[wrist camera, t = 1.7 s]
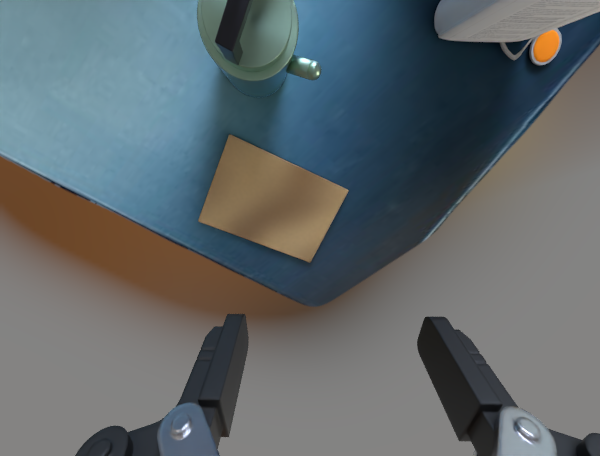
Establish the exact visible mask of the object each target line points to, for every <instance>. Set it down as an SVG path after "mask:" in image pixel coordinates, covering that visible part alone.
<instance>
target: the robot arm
mask: <svg viewBox="0 0 600 456" xmlns="http://www.w3.org/2000/svg"><path fill="white" fill-rule="evenodd" d="M417 346H418V351H419V354H420V357H421V359H422V361H423V363H424V365H425V368H426V369H427V372H428V374H429V376H430V379H431V380H432V383H433V385H434V387H435V389H436V392H437V394H438V396H439V398H440V400H441V403H442V405H443V407H444V409H445V411H446V413H447V416H448V418H449V420H450V422H451V424H452V427H453V429H454V431H455V433H456V435H457V437H458V440H459V441H471V442H472V444H473V446H474V448H475V451H474V454H473V456H600V434H598V433H591V434H589V435H588V436H586V437H585V438H584V439H583V440H580V439H577V438H574V437H571V436H568V435H565V434H562V433H559V432H556V431H553V430H550V429H548V428H546V426H545V425H544V424H543V423H542V422H541V421H540V420H538V419H537V418H536V417H535V416H533V415H532V414H531V413H529V412H527V411H525V410H523V409H521V408H519V407H518V406H517V405H516V404H515V402H514V401H513V399H512V398H511V396H510V395H509V394H508V392H507V391H506V390H505V388H504V386H503V385H502V384H501V382H500V381H499V379H498V378H497V376H496V375H495V374H494V372H493V371H492V369H491V368H490V366H489V365H488V364H486V361H485V359H484V358H483V356H482V355H481V354H479V351H478V349H477V348H476V346H475V345H474V344H473V342H472V341H471V340H470V339H469V338H468V337H467V336H466V335H465V334H463V333H462V332H461V331H460V330H454V329H453V327H452V326H451V324H450V322H449V321H448V320H447V319H446V318H445V317H425V319H424V321H423V324H422V328H421V331H420V334H419V337H418V341H417ZM247 351H248V331H247V324H246V316H245V314H228V315H227V317H226V320H225V322H224V325H223V327H214V328H213V329H212V330H211V331H210V332H209V333H208V335H207V336H206V337H205V340H204V342H203V345H202V347H201V350H200V352H199V355H198V357H197V360H196V362H195V364H194V367H193V369H192V372H191V374H190V377H189V379H188V382H187V384H186V386H185V389H184V392H183V394H182V397H181V399H180V401H179V402H178V404H177V406H176V407H175V408H174V409H172V410H171V411H170V412H169V413H168V414H167V415H166V416H165V417H164V418H163V419H162V420H160V421H158V422H156V423H154V424H151V425H148V426H145V427H142V428H139V429H136V430H133V431H130V432H127V431H126V430H125V429H124V428H123V427H120V426H110V427H107V428H105V429H102V430H100V431H99V432H97V433H96V434H94V435H93V436H92V437H90V438H89V439H88V440H87V441H86V442H85V443H84V444H83V446H82V447H81V448H80V449H79V451H78V452H77V454H76V455H75V456H220V455H219V452H218V450H217V449H218V445H219V441H220V437H229V434H230V429H231V424H232V420H233V415H234V411H235V406H236V402H237V397H238V393H239V388H240V383H241V378H242V374H243V370H244V365H245V360H246V356H247Z"/></svg>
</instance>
